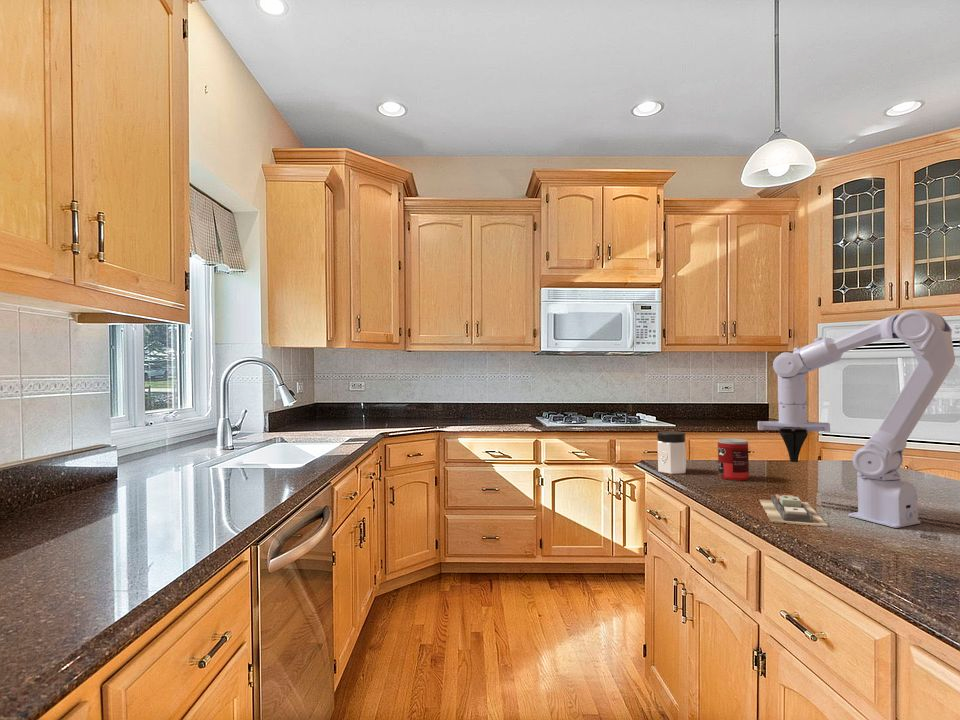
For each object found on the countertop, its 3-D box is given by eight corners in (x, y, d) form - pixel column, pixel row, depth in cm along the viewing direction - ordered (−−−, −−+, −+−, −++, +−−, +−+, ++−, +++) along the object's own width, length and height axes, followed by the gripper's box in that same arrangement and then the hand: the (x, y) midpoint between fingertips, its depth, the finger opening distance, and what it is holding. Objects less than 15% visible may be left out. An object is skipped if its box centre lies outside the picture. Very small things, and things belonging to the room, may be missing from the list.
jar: (651, 470, 162) (650, 432, 162) (667, 467, 167) (666, 430, 167) (677, 475, 155) (676, 435, 155) (692, 471, 160) (691, 432, 160)
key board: (827, 527, 105) (827, 518, 105) (771, 522, 108) (771, 514, 108) (807, 504, 121) (807, 496, 121) (759, 500, 125) (759, 493, 125)
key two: (801, 507, 113) (801, 500, 113) (782, 506, 114) (782, 499, 114) (797, 503, 116) (797, 496, 116) (779, 502, 117) (779, 495, 117)
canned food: (722, 474, 155) (721, 437, 156) (751, 477, 150) (750, 439, 150) (715, 478, 149) (714, 440, 150) (745, 482, 144) (744, 442, 145)
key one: (807, 519, 107) (807, 512, 107) (787, 517, 109) (787, 510, 109) (803, 514, 111) (803, 507, 111) (784, 513, 112) (784, 506, 112)
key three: (796, 505, 118) (796, 498, 118) (778, 504, 119) (778, 497, 119) (793, 501, 121) (792, 495, 121) (775, 500, 122) (775, 494, 122)
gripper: (824, 402, 123) (826, 459, 123) (755, 402, 129) (757, 456, 129) (831, 405, 117) (833, 465, 117) (758, 404, 122) (760, 462, 122)
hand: (793, 461), depth 122 cm, fingers closed
